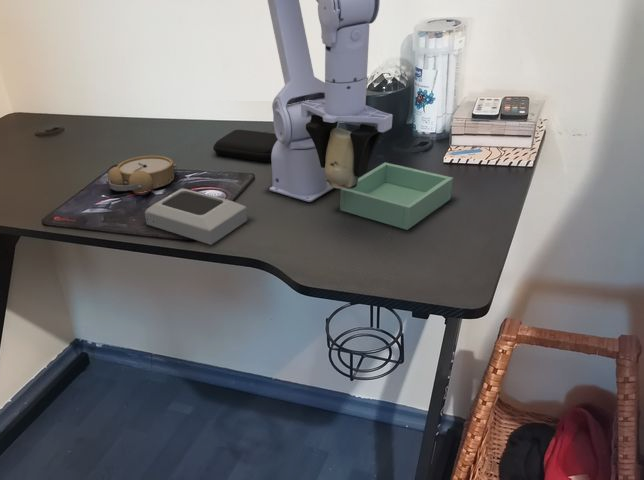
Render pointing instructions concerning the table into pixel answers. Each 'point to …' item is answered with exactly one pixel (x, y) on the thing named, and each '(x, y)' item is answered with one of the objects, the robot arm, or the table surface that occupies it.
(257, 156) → the carrying case
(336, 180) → the beige lumpy block
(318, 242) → the table surface
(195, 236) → the grey box with screen
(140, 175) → the alarm clock
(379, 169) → the basin
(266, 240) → the table surface
